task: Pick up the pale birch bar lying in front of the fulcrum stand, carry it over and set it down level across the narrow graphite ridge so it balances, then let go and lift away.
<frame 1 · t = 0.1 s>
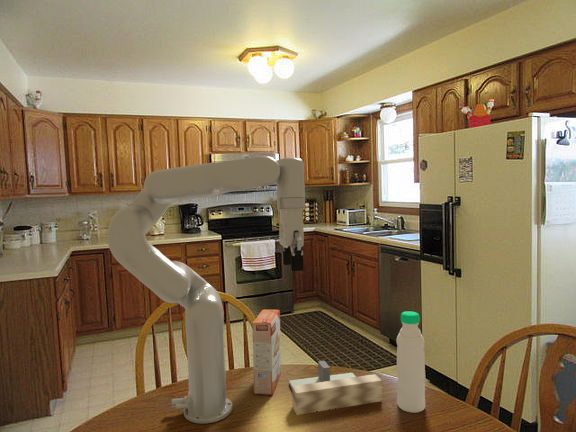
hand: (293, 267, 112), 37 cm above the table, tool pointing down, fingers open, 9 cm apart
water bottle: (411, 407, 109), on the table
birch bar: (337, 405, 111), on the table
fulcrum stand: (324, 384, 123), on the table
cracker box: (268, 384, 124), on the table
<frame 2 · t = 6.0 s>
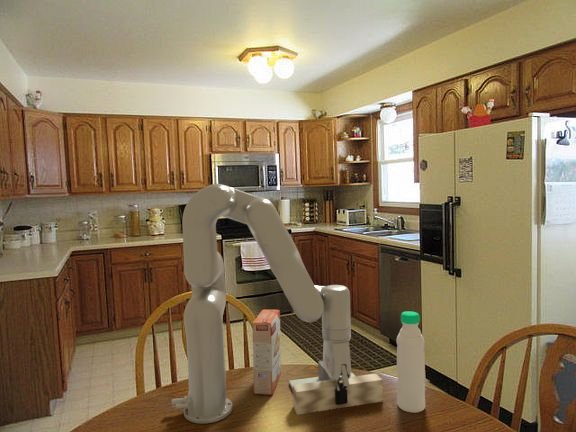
hand: (338, 398, 111), 1 cm above the table, tool pointing down, fingers closed on birch bar, 4 cm apart
birch bar: (338, 404, 111), on the table, touching gripper
everything else where it was.
when the fingers open (9 cm above the table, at t = 12.9 s): birch bar drops 1 cm, resting on fulcrum stand.
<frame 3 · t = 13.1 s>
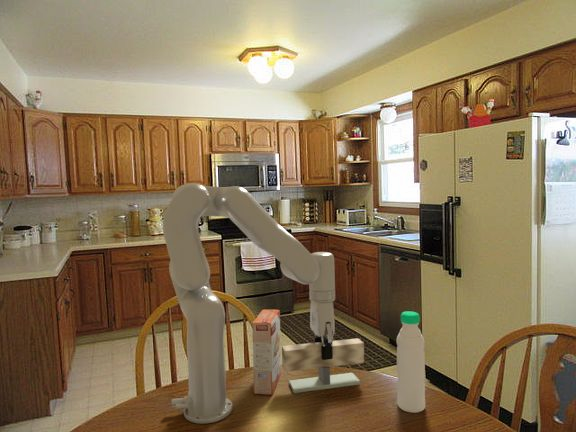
hand: (323, 354, 122), 9 cm above the table, tool pointing down, fingers open, 6 cm apart
birch bar: (323, 364, 123), point 6 cm above the table, touching fulcrum stand
everything else where it was.
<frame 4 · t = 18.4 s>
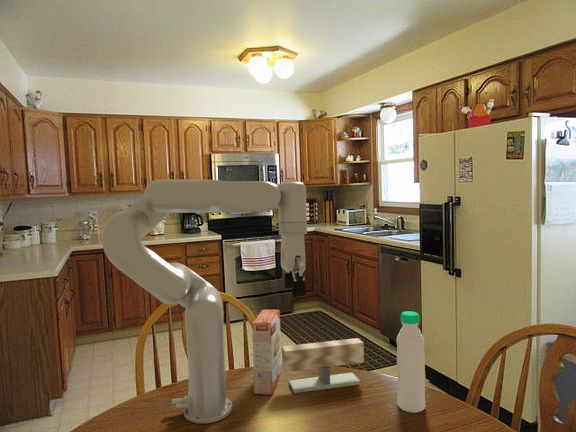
hand: (294, 291, 112), 30 cm above the table, tool pointing down, fingers open, 9 cm apart
nothing on the table moved.
at the end: birch bar 0.2 cm off-centre on the fulcrum stand, point 6.0 cm above the fulcrum stand's base; birch bar tilted 0°; the gripper is holding nothing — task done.
